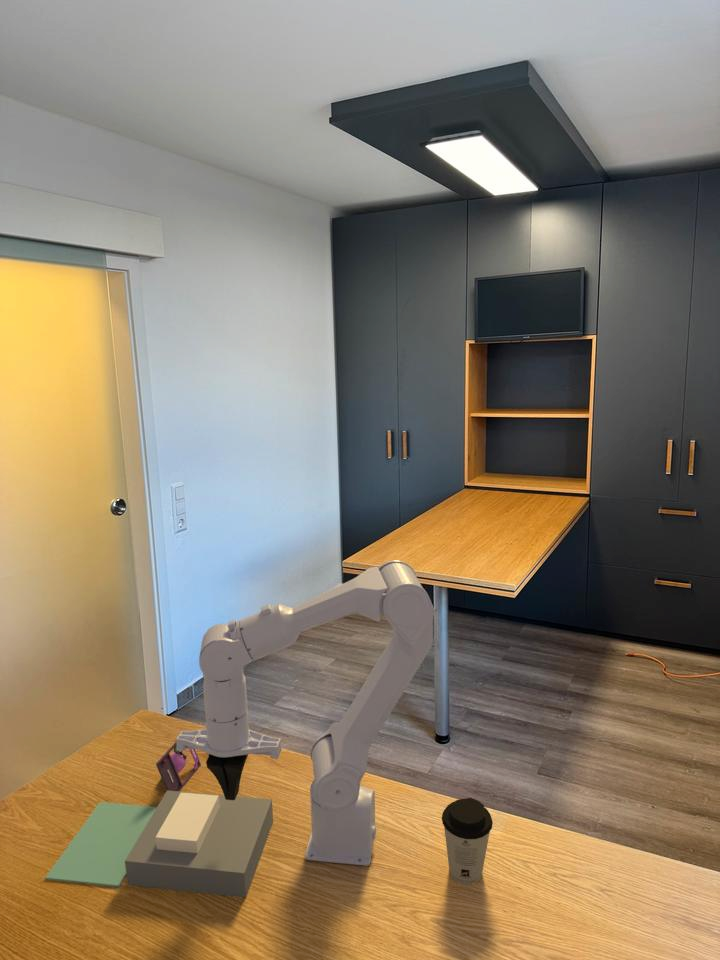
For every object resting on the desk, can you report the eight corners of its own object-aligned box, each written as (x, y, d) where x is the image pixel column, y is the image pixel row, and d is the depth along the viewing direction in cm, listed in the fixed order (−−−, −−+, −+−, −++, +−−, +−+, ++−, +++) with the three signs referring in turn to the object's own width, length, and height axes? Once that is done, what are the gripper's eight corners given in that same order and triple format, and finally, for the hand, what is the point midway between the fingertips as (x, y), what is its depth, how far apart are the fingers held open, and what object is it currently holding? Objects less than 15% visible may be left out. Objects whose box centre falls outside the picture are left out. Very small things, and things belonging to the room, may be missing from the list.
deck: (273, 821, 103) (271, 799, 102) (246, 897, 90) (244, 873, 89) (169, 811, 105) (167, 790, 104) (127, 884, 92) (124, 860, 91)
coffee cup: (472, 901, 89) (474, 838, 86) (430, 872, 93) (431, 811, 91) (500, 870, 93) (503, 809, 91) (459, 843, 98) (461, 786, 96)
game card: (161, 763, 107) (190, 730, 115) (136, 766, 109) (166, 734, 117) (176, 799, 108) (204, 764, 116) (151, 802, 110) (180, 767, 118)
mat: (164, 809, 106) (164, 807, 106) (119, 887, 92) (118, 885, 92) (100, 803, 108) (100, 801, 107) (45, 879, 93) (45, 877, 93)
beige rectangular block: (219, 806, 101) (218, 795, 100) (197, 853, 92) (196, 841, 92) (182, 803, 102) (181, 792, 101) (156, 849, 93) (155, 837, 92)
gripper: (285, 697, 94) (288, 780, 97) (187, 691, 96) (194, 772, 99) (271, 727, 87) (276, 815, 90) (167, 719, 89) (174, 805, 92)
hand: (232, 795), depth 94 cm, fingers closed
